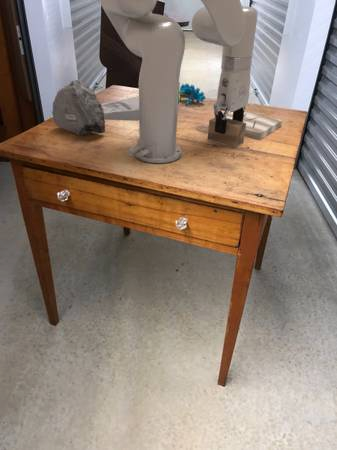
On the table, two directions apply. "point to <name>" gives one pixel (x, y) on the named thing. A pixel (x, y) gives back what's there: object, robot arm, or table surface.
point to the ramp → (122, 109)
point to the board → (258, 124)
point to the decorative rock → (78, 109)
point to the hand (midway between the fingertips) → (228, 127)
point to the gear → (190, 93)
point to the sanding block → (228, 133)
